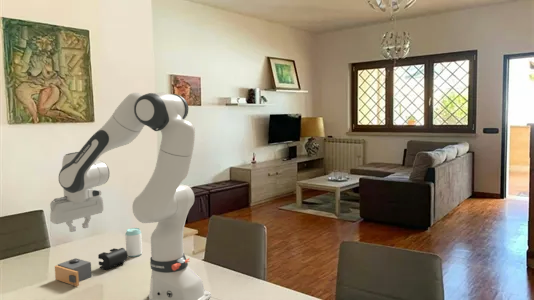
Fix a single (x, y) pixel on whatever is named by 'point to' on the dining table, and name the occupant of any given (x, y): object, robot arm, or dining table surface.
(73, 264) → the block
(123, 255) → the black ridged cylinder
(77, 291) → the dining table surface
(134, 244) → the can
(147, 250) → the dining table surface
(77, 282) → the door
